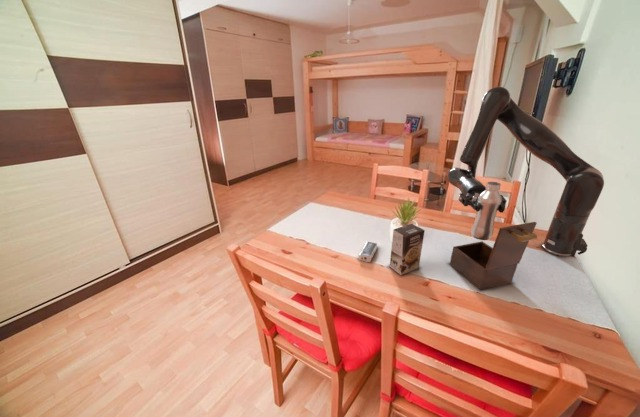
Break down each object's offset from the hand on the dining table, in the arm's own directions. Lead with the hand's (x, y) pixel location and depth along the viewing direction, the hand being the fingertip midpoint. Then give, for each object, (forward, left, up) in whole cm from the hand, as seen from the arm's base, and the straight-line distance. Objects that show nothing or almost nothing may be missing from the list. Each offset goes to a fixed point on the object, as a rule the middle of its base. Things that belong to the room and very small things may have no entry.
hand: (490, 209), depth 84 cm
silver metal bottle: (+1, -2, -12) cm, 12 cm away
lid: (-7, +6, -9) cm, 12 cm away
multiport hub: (+38, +7, -25) cm, 46 cm away
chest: (-1, 0, -25) cm, 25 cm away
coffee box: (+23, +9, -25) cm, 35 cm away
